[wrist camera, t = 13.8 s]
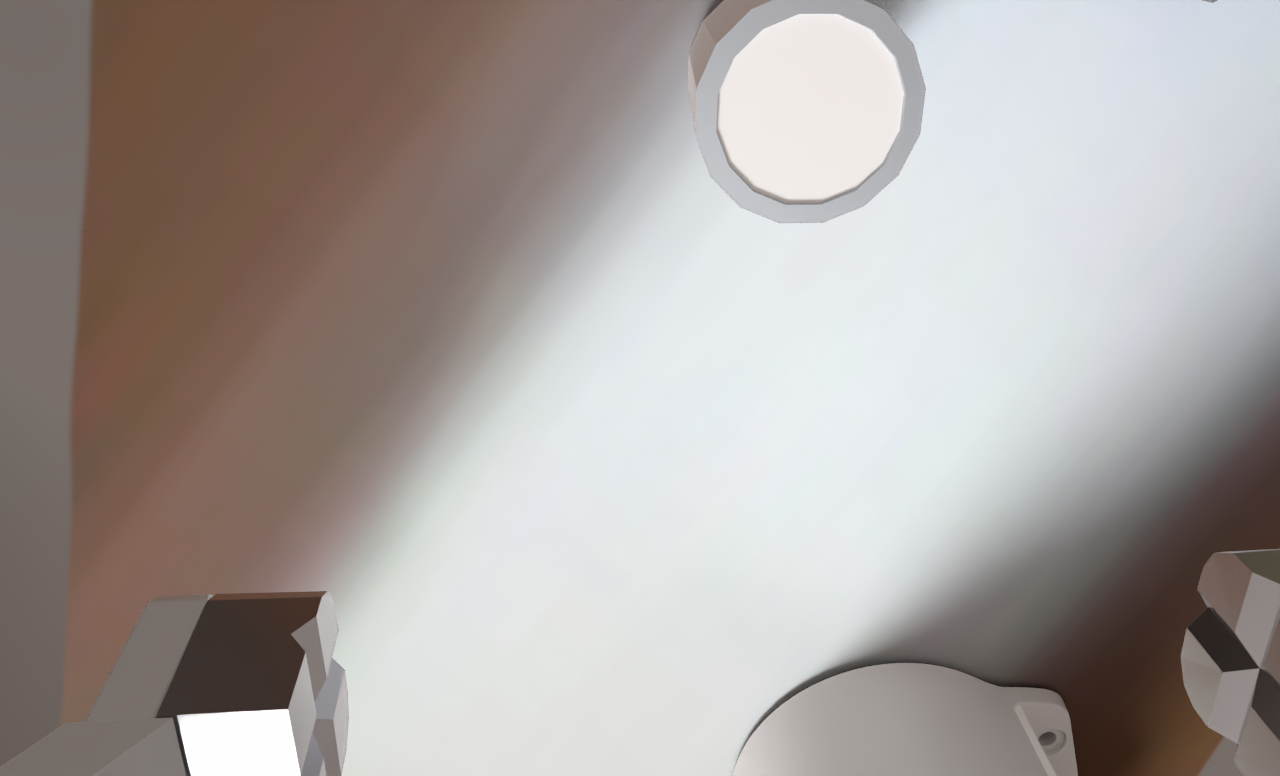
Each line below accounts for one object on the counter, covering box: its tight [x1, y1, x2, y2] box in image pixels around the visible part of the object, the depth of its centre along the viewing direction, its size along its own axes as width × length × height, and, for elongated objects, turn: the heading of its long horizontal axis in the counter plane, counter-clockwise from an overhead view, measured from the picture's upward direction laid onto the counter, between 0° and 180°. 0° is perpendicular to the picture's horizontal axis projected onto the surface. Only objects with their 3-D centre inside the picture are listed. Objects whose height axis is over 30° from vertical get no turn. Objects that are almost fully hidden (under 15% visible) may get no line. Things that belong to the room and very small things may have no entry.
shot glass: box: [688, 0, 926, 223], centre depth 36 cm, size 7×7×7 cm
